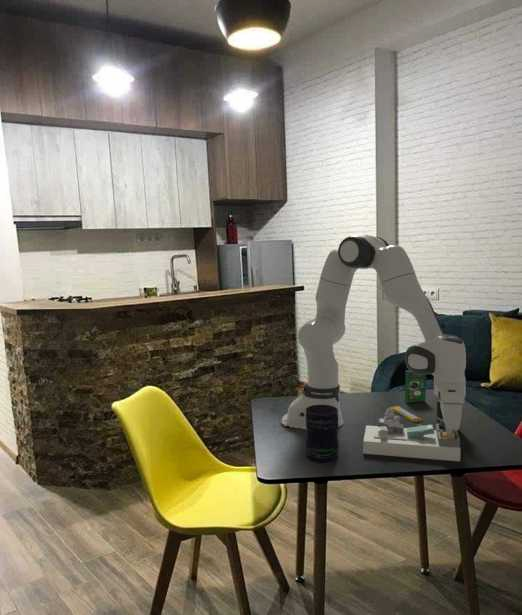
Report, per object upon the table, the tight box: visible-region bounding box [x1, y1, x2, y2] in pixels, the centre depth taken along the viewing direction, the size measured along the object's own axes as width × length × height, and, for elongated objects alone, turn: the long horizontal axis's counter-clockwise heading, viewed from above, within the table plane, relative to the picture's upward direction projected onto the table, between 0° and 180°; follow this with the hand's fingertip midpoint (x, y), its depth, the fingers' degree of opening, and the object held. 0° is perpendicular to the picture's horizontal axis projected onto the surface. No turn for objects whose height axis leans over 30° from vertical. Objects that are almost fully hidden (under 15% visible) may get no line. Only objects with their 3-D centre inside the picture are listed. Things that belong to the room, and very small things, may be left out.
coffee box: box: [404, 369, 427, 404], centre depth 204 cm, size 8×3×13 cm, turn 97°
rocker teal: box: [406, 424, 435, 437], centre depth 156 cm, size 8×4×2 cm, turn 75°
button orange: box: [442, 432, 455, 439], centre depth 150 cm, size 4×4×2 cm
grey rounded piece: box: [382, 406, 401, 424], centre depth 176 cm, size 5×7×8 cm
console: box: [362, 420, 461, 462], centre depth 157 cm, size 28×14×7 cm, turn 75°
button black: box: [440, 419, 445, 430], centre depth 157 cm, size 4×4×2 cm
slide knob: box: [381, 426, 387, 439], centre depth 155 cm, size 2×3×3 cm, turn 165°
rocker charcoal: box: [377, 417, 405, 433], centre depth 161 cm, size 8×4×2 cm, turn 74°
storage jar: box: [305, 405, 340, 464], centre depth 152 cm, size 10×10×15 cm
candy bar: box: [389, 405, 424, 424], centre depth 188 cm, size 17×4×2 cm, turn 16°
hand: (449, 434), depth 150 cm, fingers closed, pressing on button orange
